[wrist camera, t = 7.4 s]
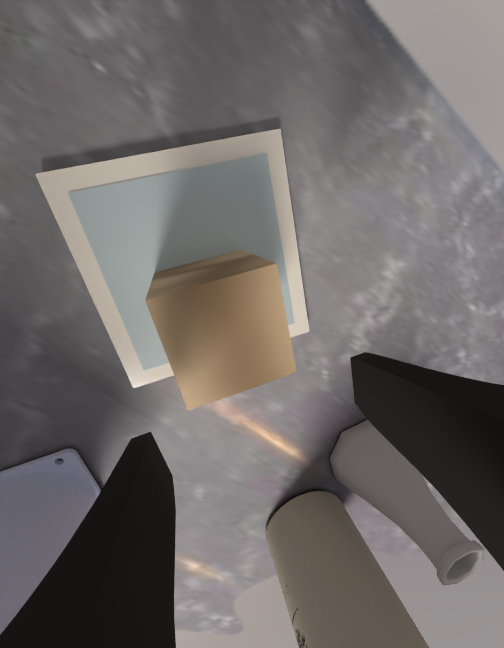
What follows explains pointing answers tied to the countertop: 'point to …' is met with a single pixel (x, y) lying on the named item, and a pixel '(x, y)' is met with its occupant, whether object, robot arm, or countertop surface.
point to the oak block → (222, 325)
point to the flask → (403, 499)
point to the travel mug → (334, 579)
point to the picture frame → (174, 229)
